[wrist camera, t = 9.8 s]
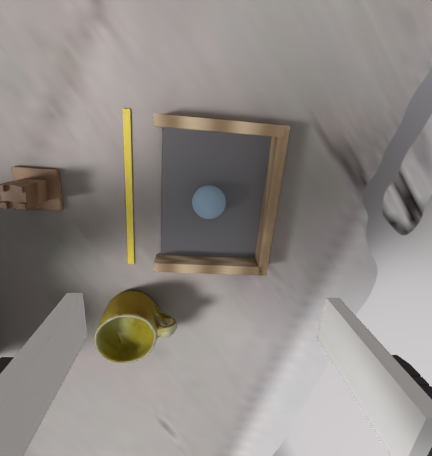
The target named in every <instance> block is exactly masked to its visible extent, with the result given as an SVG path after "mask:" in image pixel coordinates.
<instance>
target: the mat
mask: <svg viewBox="0 0 432 456" xmlns="http://www.w3.org/2000/svg"><path fill="white" fill-rule="evenodd" d="M271 138H272V137H268V136H256V135H245V134H233V133H222V132H210V131H199V130H187V129H176V128H164V127H163V128H162V216H161V255H174V256H200V257H226V258H252V259H255V252H256V245H257V238H258V231H259V223H260V216H261V209H262V202H263V195H264V188H265V181H266V174H267V166H268V159H269V152H270V145H271ZM206 185H212V186H215V187H217V188H219V189H220V190H221V191H222V192H223V194H224V196H225V199H226V206H225V209H224V211H223V212H222V214H221V215H219V216H218V217H216V218H214V219H205V218H202V217H200V216H199V215H198V214H197V213H196V212H195V211H194V209H193V205H192V199H193V196H194V194H195V192H196V191H197V190H198V189H199V188H201V187H203V186H206Z"/></svg>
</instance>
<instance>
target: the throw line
mask: <svg viewBox="0 0 432 456" xmlns="http://www.w3.org/2000/svg"><path fill="white" fill-rule="evenodd" d="M123 132H124V161H125V190H126V219H127V248H128V264H134V232H133V192H132V153H131V114H130V109H123Z"/></svg>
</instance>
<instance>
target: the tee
mask: <svg viewBox="0 0 432 456" xmlns="http://www.w3.org/2000/svg"><path fill="white" fill-rule="evenodd" d="M11 168H12V174H13V179H14V181H11V182H7V183H3V184H0V195H1V200H2V202H0V209H8V208H19V210H27V209H47V210H62V209H63V202H62V193H61V185H60V176H59V169H45V168H31V167H16V166H15V167H11Z"/></svg>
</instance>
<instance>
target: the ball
mask: <svg viewBox="0 0 432 456" xmlns="http://www.w3.org/2000/svg"><path fill="white" fill-rule="evenodd" d="M192 205H193V209H194V211H195V212H196V213H197V214H198V215H199V216H200V217H202V218H205V219H214V218H216V217H218V216H219V215H221V214H222V212H223V211H224V209H225V206H226V199H225V196H224V194H223V192H222V191H221V190H220V189H219V188H217V187H215V186H212V185H206V186H203V187H201V188H199V189H198V190H197V191H196V192H195V194H194V196H193V199H192Z"/></svg>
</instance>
